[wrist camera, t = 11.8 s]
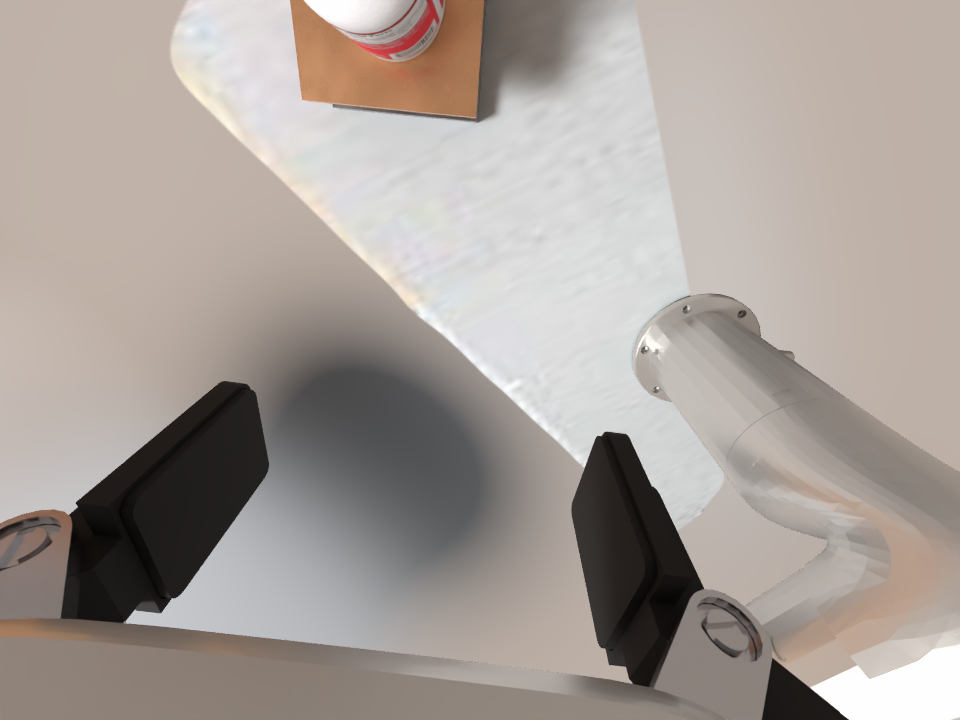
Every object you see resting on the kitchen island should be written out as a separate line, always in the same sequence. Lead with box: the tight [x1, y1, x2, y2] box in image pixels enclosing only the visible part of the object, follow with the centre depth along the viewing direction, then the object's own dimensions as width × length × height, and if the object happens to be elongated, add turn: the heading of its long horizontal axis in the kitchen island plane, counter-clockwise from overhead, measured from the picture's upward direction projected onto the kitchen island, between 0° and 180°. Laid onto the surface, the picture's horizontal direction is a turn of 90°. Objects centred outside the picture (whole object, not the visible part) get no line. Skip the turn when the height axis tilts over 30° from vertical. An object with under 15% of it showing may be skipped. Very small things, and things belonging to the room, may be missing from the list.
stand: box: [290, 0, 486, 123], centre depth 25 cm, size 11×11×7 cm
